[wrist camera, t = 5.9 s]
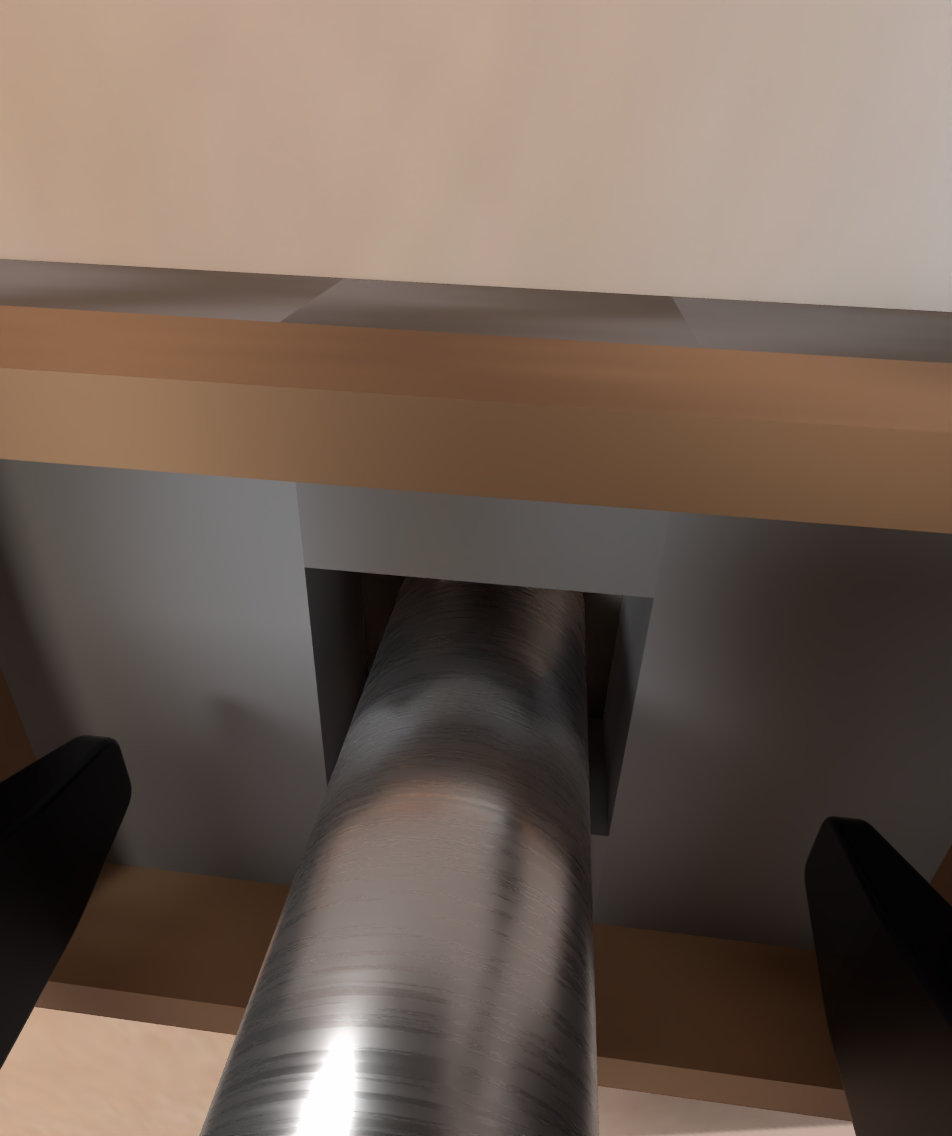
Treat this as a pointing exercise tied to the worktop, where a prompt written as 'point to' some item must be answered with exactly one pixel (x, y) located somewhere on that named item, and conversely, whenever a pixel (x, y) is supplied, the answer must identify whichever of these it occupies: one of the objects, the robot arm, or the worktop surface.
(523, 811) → the peg
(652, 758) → the box
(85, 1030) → the worktop surface
